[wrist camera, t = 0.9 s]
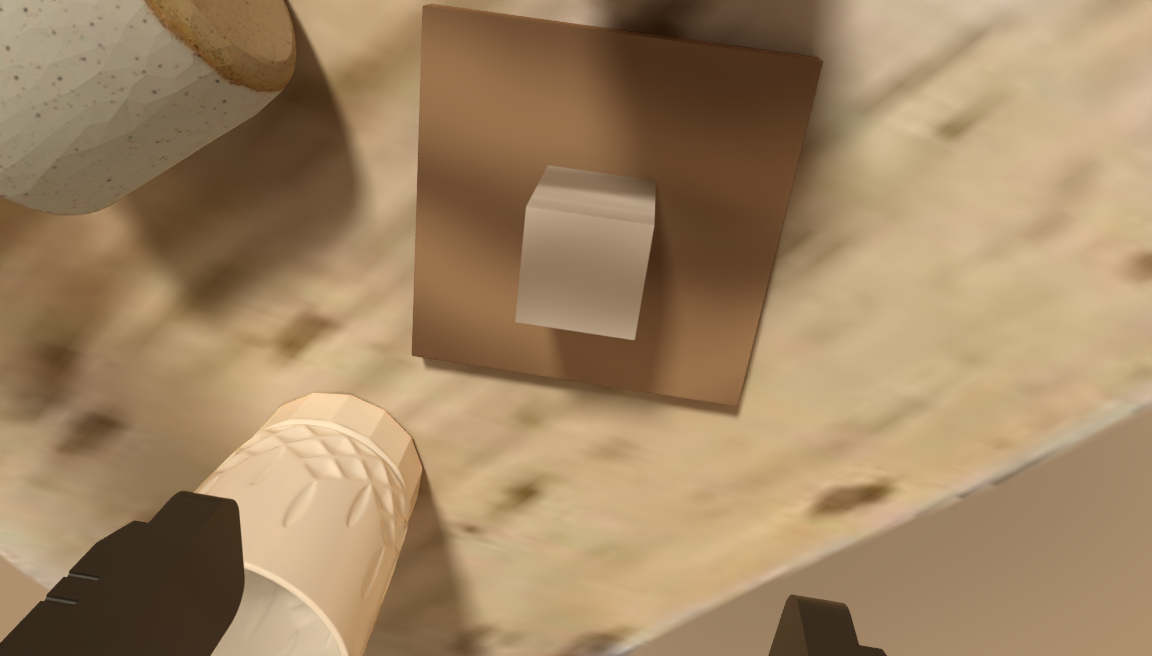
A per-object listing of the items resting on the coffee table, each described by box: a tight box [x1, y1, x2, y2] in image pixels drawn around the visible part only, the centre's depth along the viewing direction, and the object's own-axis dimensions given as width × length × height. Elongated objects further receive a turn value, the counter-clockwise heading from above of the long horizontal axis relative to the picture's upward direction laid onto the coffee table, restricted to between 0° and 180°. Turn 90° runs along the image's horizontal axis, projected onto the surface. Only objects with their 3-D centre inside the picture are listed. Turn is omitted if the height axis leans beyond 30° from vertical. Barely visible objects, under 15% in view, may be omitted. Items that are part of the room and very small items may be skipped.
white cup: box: [193, 393, 422, 656], centre depth 28 cm, size 8×8×10 cm
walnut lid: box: [412, 4, 823, 406], centre depth 25 cm, size 12×12×6 cm
